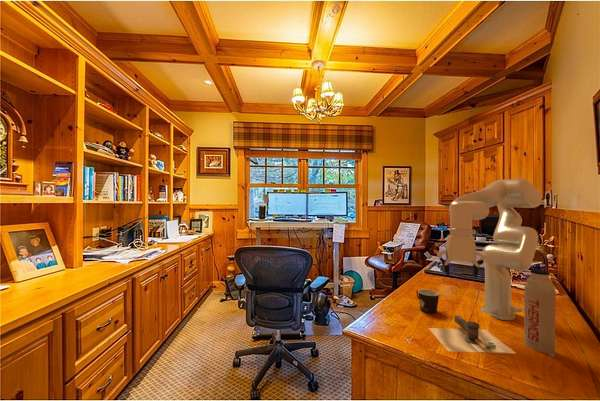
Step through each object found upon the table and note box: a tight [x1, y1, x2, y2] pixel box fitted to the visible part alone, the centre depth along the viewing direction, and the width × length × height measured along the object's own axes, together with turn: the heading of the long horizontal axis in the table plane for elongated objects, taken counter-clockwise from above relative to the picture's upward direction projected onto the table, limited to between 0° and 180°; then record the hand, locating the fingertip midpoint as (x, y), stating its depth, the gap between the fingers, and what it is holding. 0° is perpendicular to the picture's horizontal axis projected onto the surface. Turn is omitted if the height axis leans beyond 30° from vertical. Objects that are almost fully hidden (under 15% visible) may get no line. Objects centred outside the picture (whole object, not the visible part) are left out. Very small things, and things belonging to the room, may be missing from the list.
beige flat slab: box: [428, 327, 517, 355], centre depth 97 cm, size 22×16×2 cm
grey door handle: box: [454, 315, 486, 348], centre depth 98 cm, size 18×4×5 cm, turn 176°
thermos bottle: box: [523, 268, 556, 358], centre depth 92 cm, size 8×8×28 cm
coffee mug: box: [416, 288, 440, 315], centre depth 123 cm, size 12×9×10 cm
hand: (460, 275), depth 106 cm, fingers open, 9 cm apart
